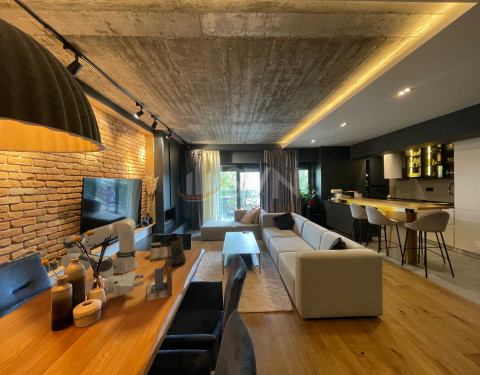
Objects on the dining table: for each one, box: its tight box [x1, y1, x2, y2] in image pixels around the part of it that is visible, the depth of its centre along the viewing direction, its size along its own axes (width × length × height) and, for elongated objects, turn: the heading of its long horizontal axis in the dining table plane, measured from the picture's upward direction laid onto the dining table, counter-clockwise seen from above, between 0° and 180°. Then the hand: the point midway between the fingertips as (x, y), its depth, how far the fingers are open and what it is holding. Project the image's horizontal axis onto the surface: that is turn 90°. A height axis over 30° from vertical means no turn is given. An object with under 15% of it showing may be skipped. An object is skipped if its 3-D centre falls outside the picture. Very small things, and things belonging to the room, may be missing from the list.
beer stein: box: [161, 232, 187, 268], centre depth 169 cm, size 16×19×25 cm
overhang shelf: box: [145, 246, 173, 302], centre depth 127 cm, size 14×20×24 cm
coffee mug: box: [147, 242, 162, 251], centre depth 193 cm, size 12×9×10 cm
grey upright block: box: [154, 267, 164, 290], centre depth 127 cm, size 5×5×12 cm
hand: (143, 279), depth 123 cm, fingers open, 8 cm apart
